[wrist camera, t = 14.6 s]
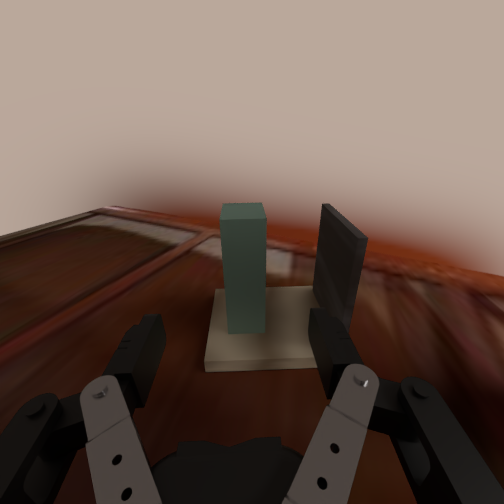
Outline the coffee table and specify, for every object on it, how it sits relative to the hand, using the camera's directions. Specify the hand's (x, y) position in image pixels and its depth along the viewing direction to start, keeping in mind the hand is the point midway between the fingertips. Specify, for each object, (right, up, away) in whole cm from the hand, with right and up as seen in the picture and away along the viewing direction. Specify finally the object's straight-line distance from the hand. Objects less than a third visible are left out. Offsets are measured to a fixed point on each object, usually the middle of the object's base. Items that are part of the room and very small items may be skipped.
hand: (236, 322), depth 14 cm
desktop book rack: (+3, -5, +17) cm, 18 cm away
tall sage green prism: (0, -4, +16) cm, 16 cm away
